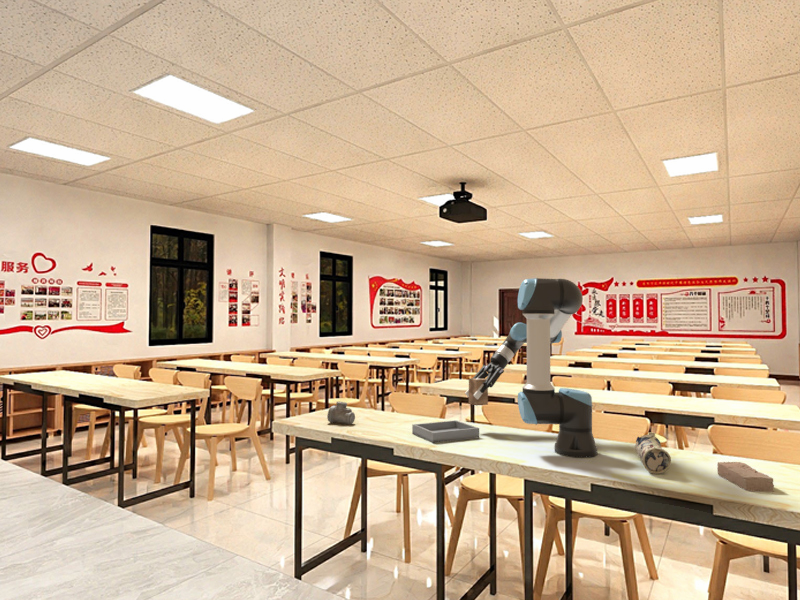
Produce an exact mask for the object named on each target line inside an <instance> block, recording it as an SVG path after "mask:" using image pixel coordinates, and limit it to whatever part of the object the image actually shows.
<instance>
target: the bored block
mask: <svg viewBox="0 0 800 600" xmlns="http://www.w3.org/2000/svg"><path fill="white" fill-rule="evenodd" d="M486 379H487V378H485V379H483V378H471V377H470V378H468V388H469V397H468V404H470V405H473V406H477V407H478V406H487V405H488V404H489V388H487V389H486V390H485V391H484V393H483V394H482V395H481V396H480V398H479V399H478V400H477V399H476V398H475V397H474V396H473V395H474V394H475V392H476V391H477V390H478V389H479V387H480V386H481V385H482V384H483V382H485V381H486ZM483 385H484V384H483Z"/></svg>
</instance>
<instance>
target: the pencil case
mask: <svg viewBox="0 0 800 600" xmlns="http://www.w3.org/2000/svg"><path fill="white" fill-rule="evenodd" d="M635 442H636V443H635V445H634V446H635V447H634V448H635V452H636V454H637V456H638V457H639V459H640V461H641V463H642V465H643V467H644V468H645V470H646V471H648V472H649V473H650V474H654V475H657V474H661V473H664V472H666V471H667V470H669V468H670V466H671V465H672V457H671V455H670V454H669V452H668V451H666V449H664V448H662V444H661V441H660V440H659V439H658V438H657V436H656V433H655V432H651V431H648V434H644V435H641V436H637V438H636V439H635Z"/></svg>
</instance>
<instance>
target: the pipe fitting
mask: <svg viewBox="0 0 800 600" xmlns="http://www.w3.org/2000/svg"><path fill="white" fill-rule="evenodd" d="M347 406H348V403H347V402H345V401H339V400H338V401H336V405H332V406H330V408H329V409H328V411H327V418H326V419H327V421H328V422H329V423H331V422H332V423H331V424H334V423H333V422H335V423H337V422H338V423H341V424H345V425H348V424H349V425H348V426H351V425H352V424H354V423H355V420H356V415H355V413H354V412H353V411H352V408H350V407H349V408H348V407H347ZM350 424H351V425H350Z"/></svg>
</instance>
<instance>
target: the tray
mask: <svg viewBox="0 0 800 600" xmlns="http://www.w3.org/2000/svg"><path fill="white" fill-rule="evenodd" d="M411 426H412V428H411V429H412V432H411V434H412V435H414V436H416V437H419V438H421V439H423V440H425V441H427V442H430V443H432V444H434V443H435V444H436V443H437V444H438V443H446V442H454V441H465V440H472V439H479V438H480V428H479V427H477V426H474V425H471V424H469V423H465V422H462V421H460V420H445V421H435V422H424V423H414V424H413V423H412V425H411Z"/></svg>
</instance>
